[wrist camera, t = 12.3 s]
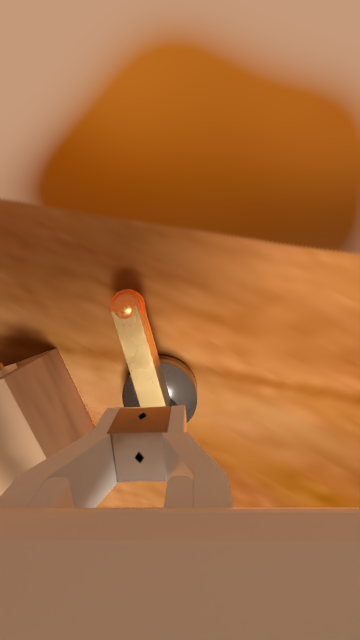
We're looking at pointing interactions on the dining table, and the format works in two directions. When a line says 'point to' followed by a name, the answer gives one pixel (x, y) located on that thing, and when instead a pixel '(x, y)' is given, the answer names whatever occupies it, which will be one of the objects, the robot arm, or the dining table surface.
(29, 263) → the dining table surface
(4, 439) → the brown box
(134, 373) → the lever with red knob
